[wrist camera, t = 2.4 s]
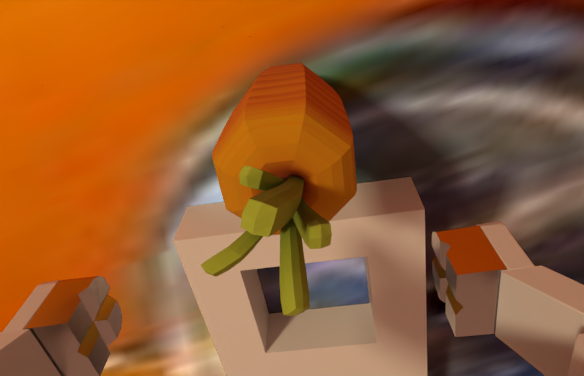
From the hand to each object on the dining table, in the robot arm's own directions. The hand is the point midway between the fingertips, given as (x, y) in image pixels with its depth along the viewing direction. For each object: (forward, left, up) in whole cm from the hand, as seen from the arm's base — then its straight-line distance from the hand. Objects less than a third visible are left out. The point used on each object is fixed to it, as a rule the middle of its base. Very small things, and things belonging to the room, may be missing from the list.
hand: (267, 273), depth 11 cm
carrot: (0, 0, -15) cm, 15 cm away
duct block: (+1, +20, -15) cm, 24 cm away
